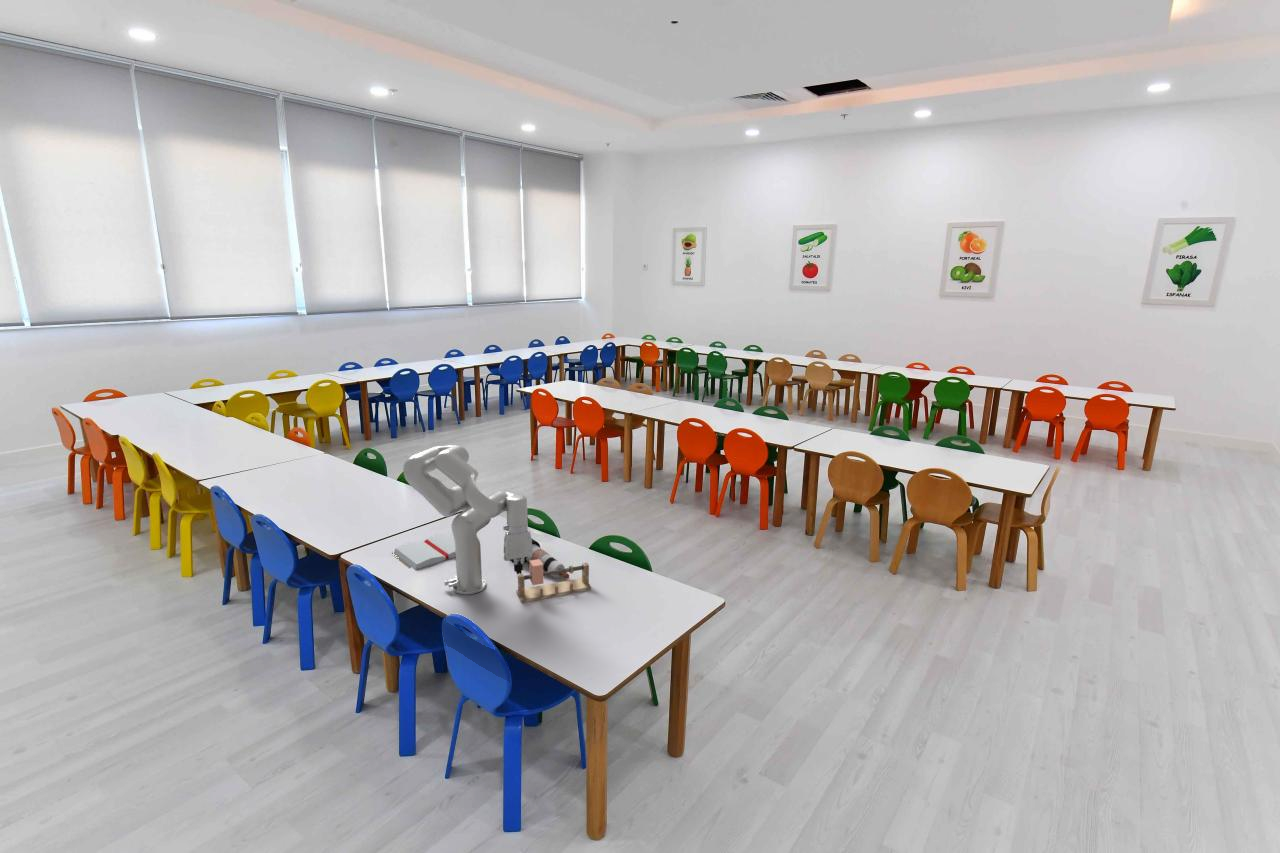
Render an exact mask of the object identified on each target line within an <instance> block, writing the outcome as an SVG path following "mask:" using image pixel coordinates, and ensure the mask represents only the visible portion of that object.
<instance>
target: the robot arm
mask: <svg viewBox="0 0 1280 853" xmlns="http://www.w3.org/2000/svg"><path fill="white" fill-rule="evenodd" d="M469 460H470V455H469V452H468V450H467V449H466V448H465V447H464V446H461V445H457V444H456V445H455V444H452V445H444V446H443V445H442V446H433V447H431V448H427V449H425V450H423V451H420V452H418V453H415V454H413V455H412V456H409V457H408V458H407V459H406V461H405V462H404V464H403V469H402V470H403V476H404V478H405V481H406V482H407V483H408V485H409V486H410V487H411V488H413V489H414V490H415V491H416V492H418V493H419V494H420V495H421V496H422V497H423V498H424V499H425V500H426V501H427V502H428V503H429V504H430V505H431V506H432V507H433V508H434V509H435V510H436V511H437V512H438V513H439V514H441V516H443V517H451V516H453V515H456V514H457V513H458V514H457V515H456V516H455V517H454V518H453V520H452V521H451V532H452V534H453V536H454V541H455V553H456V557H455V569H456V571H455V575H454V578H451V579H446V580H443V582H444V586H448V588H453V592H455V593H456V594H459V595H474V594H477V593H480V592H482V591H483V590H484V589H486V586H487V581H486V580H485V579H483V578H482V577H483V576H482V554H481V553H482V550H481V541H480V539H479V538H478V535H477V534H478V532H479V531H480V530H482V529H483V528H486V526H488V525H489V524H490V522H491V520H492V519H495V518H497V517H498V516H500V514H502V513H504V512H506V524H505V526H502V531H505V533H504V537H503V541H504V542H503V554H504V556H503V560H504V562H511V563H512V564H513V571H514V572H515V573H516V574H517V575H518V574H523V573H522V571H523V570H524V568H523V567H524V563H525V562H524V561H525V560H526V559H527V558H529V557H531V556H532V552H533V550H532V539H533V538H532V534H531V530H530V529H529V528H528V526H529V525H528V499H527V497H526V496H525V495H522V494H515V493H512V492H509V491H507V490H503V489H502V490H498V491H496V492H495V493H492V494H491V495H489V496H488V497H487V496H486V495H485V494H483V493H482V492H481V490H479V488H478V487H477V483H476V482H477V479H478V476H479V472H478V470H477V469H476V468H474V467H473V466H472V465H470V464H469V463H468V462H469ZM435 470H438V471H439V472H441V474H443V475H444V476H446V477H447V478H448V479H450V481H452V482H454V483H455V484H456V485H455V486H453V487H450V488H448V487H447V486H446V485H445V484H444V483H443V481H441V480H439V479H438V478H436V477H434V476H431V475H430V474H429V473H431V472H433V471H435ZM460 511H461V512H460ZM531 538H532V539H531Z"/></svg>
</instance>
